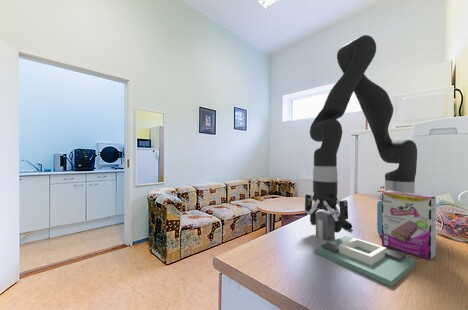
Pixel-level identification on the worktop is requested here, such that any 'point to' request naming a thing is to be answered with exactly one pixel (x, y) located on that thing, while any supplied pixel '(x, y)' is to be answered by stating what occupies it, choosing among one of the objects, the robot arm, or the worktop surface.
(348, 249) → the board
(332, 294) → the worktop surface
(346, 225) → the electric trimmer
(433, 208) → the candy bar box
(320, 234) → the plug
